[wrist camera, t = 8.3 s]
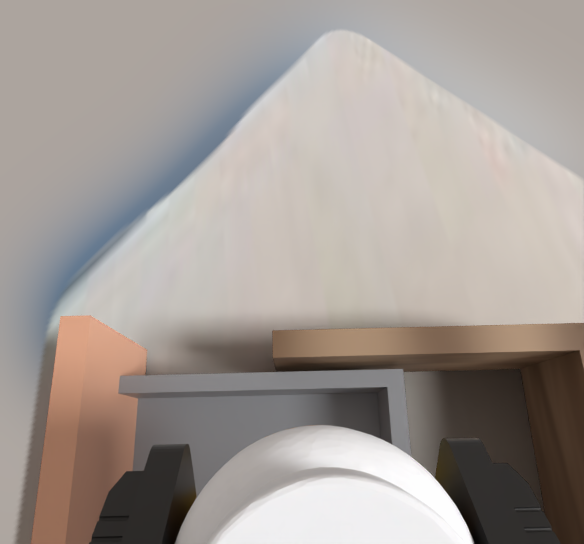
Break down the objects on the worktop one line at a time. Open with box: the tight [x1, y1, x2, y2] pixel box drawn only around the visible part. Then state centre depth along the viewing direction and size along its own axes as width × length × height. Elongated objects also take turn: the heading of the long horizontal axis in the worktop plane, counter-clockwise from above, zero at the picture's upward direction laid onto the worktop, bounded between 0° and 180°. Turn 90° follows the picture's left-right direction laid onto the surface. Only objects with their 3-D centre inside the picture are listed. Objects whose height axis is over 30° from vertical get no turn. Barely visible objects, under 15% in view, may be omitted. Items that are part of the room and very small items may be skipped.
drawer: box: [31, 316, 411, 544], centre depth 21 cm, size 14×14×8 cm
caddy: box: [272, 323, 584, 544], centre depth 23 cm, size 15×14×6 cm
